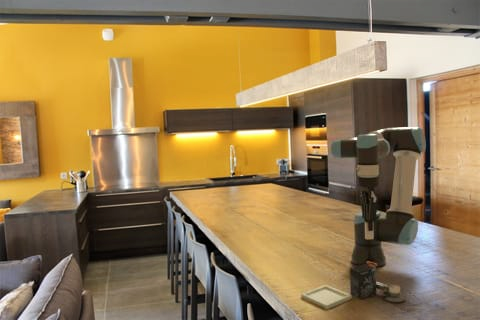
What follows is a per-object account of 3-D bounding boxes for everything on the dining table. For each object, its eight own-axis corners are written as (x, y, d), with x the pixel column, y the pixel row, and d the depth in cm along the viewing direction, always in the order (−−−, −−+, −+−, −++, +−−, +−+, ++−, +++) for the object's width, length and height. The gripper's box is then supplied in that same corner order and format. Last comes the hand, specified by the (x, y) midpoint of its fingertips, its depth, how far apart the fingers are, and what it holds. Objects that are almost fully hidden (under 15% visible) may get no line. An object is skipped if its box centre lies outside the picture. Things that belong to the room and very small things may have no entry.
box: (360, 300, 146) (359, 271, 145) (350, 294, 152) (349, 267, 151) (377, 295, 149) (376, 267, 149) (366, 290, 155) (365, 263, 154)
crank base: (377, 298, 147) (377, 295, 147) (391, 292, 152) (390, 289, 151) (396, 305, 140) (396, 302, 140) (410, 299, 145) (410, 295, 145)
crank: (402, 294, 145) (402, 268, 145) (395, 298, 143) (395, 271, 142) (371, 284, 156) (370, 259, 155) (364, 287, 153) (363, 262, 153)
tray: (301, 297, 151) (301, 293, 151) (325, 288, 158) (325, 284, 158) (326, 309, 140) (326, 305, 140) (351, 299, 148) (351, 295, 147)
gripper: (352, 174, 155) (353, 234, 157) (364, 178, 142) (365, 244, 144) (371, 173, 155) (372, 233, 157) (385, 177, 142) (386, 242, 144)
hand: (369, 238), depth 150 cm, fingers closed
